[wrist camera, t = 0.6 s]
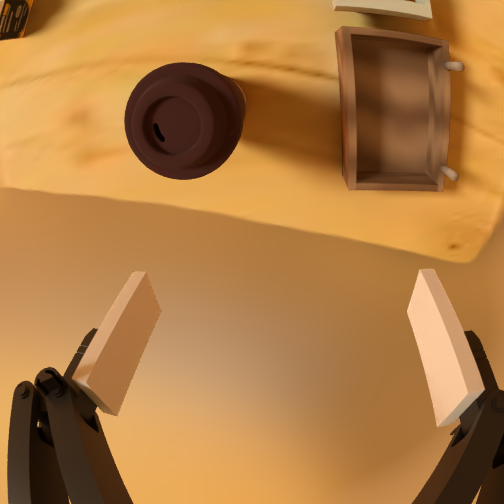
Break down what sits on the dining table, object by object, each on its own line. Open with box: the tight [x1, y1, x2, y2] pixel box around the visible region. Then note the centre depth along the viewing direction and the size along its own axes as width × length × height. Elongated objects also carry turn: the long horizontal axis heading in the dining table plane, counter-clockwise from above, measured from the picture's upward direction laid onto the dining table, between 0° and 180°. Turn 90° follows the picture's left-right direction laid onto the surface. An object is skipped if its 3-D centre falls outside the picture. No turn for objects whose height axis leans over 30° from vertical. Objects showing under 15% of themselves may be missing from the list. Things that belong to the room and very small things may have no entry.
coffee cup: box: [124, 62, 246, 180], centre depth 26 cm, size 10×10×15 cm
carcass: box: [335, 26, 464, 192], centre depth 26 cm, size 18×12×8 cm
